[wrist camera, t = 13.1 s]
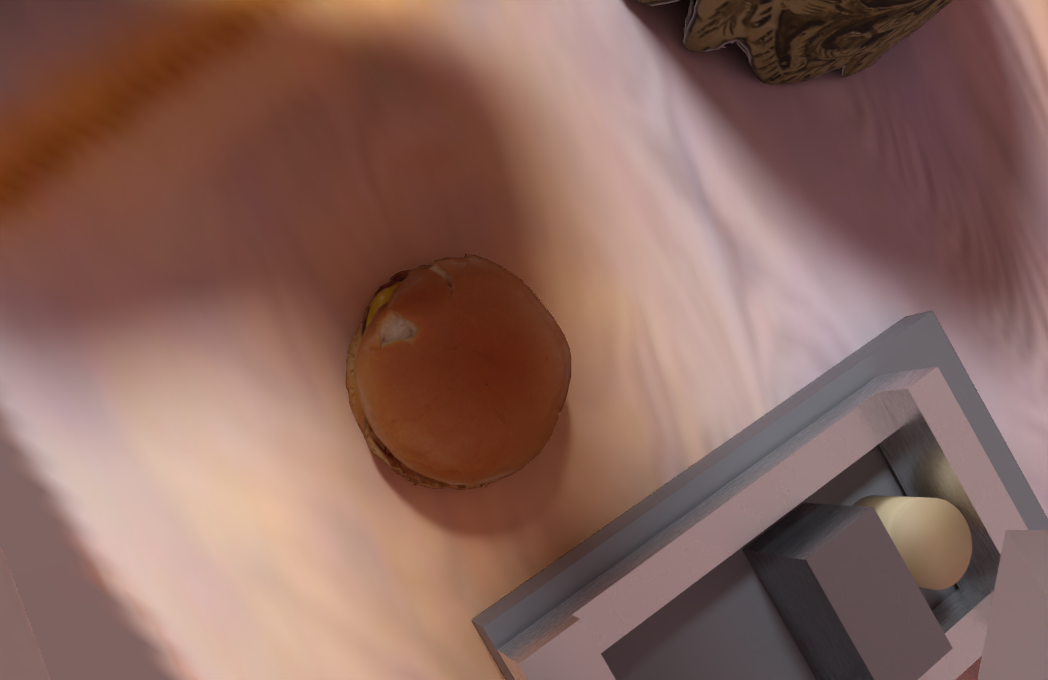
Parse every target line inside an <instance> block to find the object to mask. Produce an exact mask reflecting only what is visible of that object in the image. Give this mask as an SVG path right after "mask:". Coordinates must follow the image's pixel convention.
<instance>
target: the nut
mask: <svg viewBox="0 0 1048 680" xmlns="http://www.w3.org/2000/svg"><path fill="white" fill-rule="evenodd" d="M852 506H863V507H874V509H875V510H876V512H877V514H878V516H879V518H880V519H881V521H882V523H883V525H884V526H885V528H886V530H887V532H888V534H889V535H890V537H891V539H892V541H893V543H894V544H895V546H896V548H897V550H898V551H899V553H900V555H901V557H902V559H903V560H904V562H905V564H906V566H907V567H908V569H909V571H910V573H911V575H912V576H913V578H914V580H915V582H916V583H917V585H918V587H922V588H927V589H933V590H940V589H945V588H948V587H950V586H952V585H954V584H955V583H956V582H958V581H959V580H960V579H961V577H962V576H963V575H964V573H965V572H966V570H967V568H968V565H969V562H970V559H971V554H972V539H971V533H970V529H969V527H968V524H967V522H966V520H965V518H964V516H963V515H962V513H961V512H960V511H959V510H958V509H957V508H956V507H955V506H954V505H952V504H951V503H949V502H948V501H946V500H943V499H939V498H925V497H902V496H879V495H871V496H866V497H863V498H861V499H859V500H858V501H856V502H855V503H854V504H853V505H852Z"/></svg>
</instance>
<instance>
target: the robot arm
mask: <svg viewBox="0 0 1048 680" xmlns="http://www.w3.org/2000/svg"><path fill="white" fill-rule="evenodd" d="M0 680H51V679H50V677H49V674H48V671H47V668H46V666H45V663H44V660H43V657H42V655H41V652H40V649H39V647H38V644H37V641H36V639H35V636H34V633H33V630H32V628H31V625H30V622H29V620H28V617H27V614H26V612H25V609H24V606H23V604H22V601H21V598H20V596H19V593H18V590H17V587H16V585H15V582H14V579H13V577H12V574H11V571H10V568H9V566H8V563H7V560H6V558H5V555H4V552H3V549H2V547H1V544H0ZM977 680H1048V530H1005V536H1004V541H1003V546H1002V552H1001V557H1000V562H999V567H998V573H997V578H996V583H995V589H994V594H993V599H992V605H991V610H990V615H989V621H988V626H987V631H986V637H985V642H984V647H983V652H982V658H981V663H980V668H979V674H978V679H977Z"/></svg>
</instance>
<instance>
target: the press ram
mask: <svg viewBox="0 0 1048 680" xmlns="http://www.w3.org/2000/svg"><path fill="white" fill-rule="evenodd" d="M878 444H879V446H880V448H881V450H882V451H883V453H884V455H885V457H886V459H887V460H888V462H889V464H890V466H891V468H892V469H893V471H894V473H895V475H896V477H897V478H898V480H899V482H900V484H901V485H902V487H903V489H904V491H905V493H906V494H907V496H908V497H925V498H939V499H943V500H946V501H948V502H949V503H951V504H952V505H954V506H955V507H956V508H957V509H958V510H959V511H960V512H961V513H962V515H963V516H964V518H965V520H966V522H967V524H968V527H969V529H970V533H971V539H972V554H971V559H970V562H969V565H968V568H967V570H966V572H965V573H964V575H963V576H962V577H961V579H960V580H959V581H958V582H956V584H957V586H958V587H959V588H958V589H957V590H956V591H955V592H954V593H952V594H951V595H950V596H949V597H948V598H947V599H945V600H944V601H943V602H942V603H941V604H940V605H938V606H937V607H936V608H935V609H934V610H933V611H932V612H933V614H934V616H935V617H936V619H937V621H938V623H939V624H940V626H941V628H942V630H943V632H944V633H945V635H946V637H947V639H948V640H949V642H950V644H951V646H952V648H953V649H951V650H950V651H949V652H948V653H947V654H946V655H945V656H944V657H943V658H941V659H940V660H939V661H938V662H937V663H936V664H935V665H934V666H932V667H931V668H930V669H929V670H928V671H927V672H926V673H925V674H923V675H922V676H921V677H920V678H919V679H918V680H956V679H957V678H958V677H959V676H960V675H961V674H962V673H963V672H964V671H966V670H967V669H968V668H969V667H970V666H971V665H972V664H973V663H974V662H975V661H977V660H978V659H979V658H980V657H981V656H982V652H983V647H984V642H985V637H986V631H987V626H988V621H989V615H990V610H991V605H992V599H993V594H994V589H995V583H996V578H997V573H998V567H999V562H1000V557H1001V552H1002V546H1003V541H1004V536H1005V530H1028V528H1027V527H1026V525H1025V523H1024V521H1023V519H1022V518H1021V516H1020V514H1019V512H1018V510H1017V509H1016V507H1015V505H1014V503H1013V501H1012V500H1011V498H1010V496H1009V494H1008V492H1007V491H1006V489H1005V487H1004V485H1003V483H1002V481H1001V480H1000V478H999V476H998V474H997V472H996V471H995V469H994V467H993V465H992V463H991V462H990V460H989V458H988V456H987V454H986V453H985V451H984V449H983V447H982V445H981V444H980V442H979V440H978V438H977V436H976V435H975V433H974V431H973V429H972V427H971V426H970V424H969V422H968V420H967V418H966V417H965V415H964V413H963V411H962V409H961V408H960V406H959V404H958V402H957V400H956V399H955V397H954V395H953V393H952V391H951V389H950V388H949V386H948V384H947V382H946V380H945V379H944V377H943V375H942V373H941V371H940V370H939V368H938V367H931V368H924V369H917V370H910V371H903V372H895V373H888V374H881V375H878V376H877V377H875V378H874V379H873V380H871V381H870V382H868V383H867V384H866V385H864V386H863V387H861V388H860V389H859V390H857V391H856V392H854V393H853V394H852V395H850V396H849V397H848V398H846V399H845V400H843V401H842V402H841V403H839V404H838V405H836V406H835V407H834V408H832V409H831V410H829V411H828V412H827V413H825V414H824V415H822V416H821V417H820V418H818V419H817V420H816V421H814V422H813V423H811V424H810V425H809V426H807V427H806V428H804V429H803V430H802V431H800V432H799V433H797V434H796V435H795V436H793V437H792V438H790V439H789V440H788V441H786V442H785V443H784V444H782V445H781V446H779V447H778V448H777V449H775V450H774V451H772V452H771V453H770V454H768V455H767V456H765V457H764V458H763V459H761V460H760V461H758V462H757V463H756V464H754V465H753V466H752V467H750V468H749V469H747V470H746V471H745V472H743V473H742V474H740V475H739V476H738V477H736V478H735V479H733V480H732V481H731V482H729V483H728V484H726V485H725V486H724V487H722V488H721V489H720V490H718V491H717V492H715V493H714V494H713V495H711V496H710V497H708V498H707V499H706V500H704V501H703V502H701V503H700V504H699V505H697V506H696V507H694V508H693V509H692V510H690V511H689V512H688V513H686V514H685V515H683V516H682V517H681V518H679V519H678V520H676V521H675V522H674V523H672V524H671V525H669V526H668V527H667V528H665V529H664V530H662V531H661V532H660V533H658V534H657V535H656V536H654V537H653V538H651V539H650V540H649V541H647V542H646V543H644V544H643V545H642V546H640V547H639V548H637V549H636V550H635V551H633V552H632V553H630V554H629V555H628V556H626V557H625V558H623V559H622V560H621V561H619V562H618V563H617V564H615V565H614V566H612V567H611V568H610V569H608V570H607V571H605V572H604V573H603V574H601V575H600V576H598V577H597V578H596V579H594V580H593V581H591V582H590V583H589V584H587V585H586V586H585V587H583V588H582V589H580V590H579V591H578V592H576V593H575V594H573V595H572V596H571V597H569V598H568V599H566V600H565V601H564V602H562V603H561V604H559V605H558V606H557V607H555V608H554V609H553V610H551V611H550V612H548V613H547V614H546V615H544V616H543V617H541V618H540V619H539V620H537V621H536V622H534V623H533V624H532V625H530V626H529V627H527V628H526V629H525V630H523V631H522V632H521V633H519V634H518V635H516V636H515V637H514V638H512V639H511V640H509V641H508V642H507V643H505V644H504V645H502V646H501V647H500V648H498V649H497V651H498V652H499V654H500V656H501V657H502V659H503V661H504V662H505V664H506V666H507V668H508V669H509V671H510V673H511V674H512V676H513V678H514V680H616V679H615V677H614V676H613V674H612V672H611V671H610V669H609V667H608V665H607V664H606V662H605V660H604V658H603V657H602V655H601V653H602V652H603V651H605V650H606V649H607V648H609V647H610V646H611V645H613V644H614V643H615V642H617V641H618V640H619V639H621V638H622V637H623V636H625V635H626V634H627V633H629V632H630V631H631V630H633V629H634V628H635V627H637V626H638V625H639V624H641V623H642V622H643V621H645V620H646V619H647V618H649V617H650V616H651V615H653V614H654V613H655V612H657V611H658V610H659V609H660V608H662V607H663V606H664V605H666V604H667V603H668V602H670V601H671V600H672V599H674V598H675V597H676V596H678V595H679V594H680V593H682V592H683V591H684V590H686V589H687V588H688V587H690V586H691V585H692V584H694V583H695V582H696V581H698V580H699V579H700V578H702V577H703V576H704V575H706V574H707V573H708V572H710V571H711V570H712V569H714V568H715V567H716V566H718V565H719V564H720V563H721V562H723V561H724V560H725V559H727V558H728V557H729V556H731V555H732V554H733V553H735V552H736V551H737V550H739V549H740V548H741V547H743V546H744V545H745V544H747V543H748V542H749V541H751V540H752V539H753V538H755V537H756V536H757V535H759V534H760V533H761V532H763V531H764V530H765V529H767V528H768V527H769V526H771V525H772V524H773V523H775V522H776V521H777V520H779V519H780V518H781V517H782V516H784V515H785V514H786V513H788V512H789V511H790V510H792V509H793V508H794V507H796V506H797V505H798V504H800V503H801V502H802V501H804V500H805V499H806V498H808V497H809V496H810V495H812V494H813V493H814V492H816V491H817V490H818V489H820V488H821V487H822V486H824V485H825V484H826V483H828V482H829V481H830V480H832V479H833V478H834V477H836V476H837V475H838V474H840V473H841V472H842V471H843V470H845V469H846V468H847V467H849V466H850V465H851V464H853V463H854V462H855V461H857V460H858V459H859V458H861V457H862V456H863V455H865V454H866V453H867V452H869V451H870V450H871V449H873V448H874V447H875V446H877V445H878Z"/></svg>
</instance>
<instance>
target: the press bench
mask: <svg viewBox="0 0 1048 680" xmlns="http://www.w3.org/2000/svg"><path fill="white" fill-rule="evenodd" d="M931 367H938V368H939V370H940V371H941V373H942V375H943V377H944V379H945V380H946V382H947V384H948V386H949V388H950V389H951V391H952V393H953V395H954V397H955V399H956V400H957V402H958V404H959V406H960V408H961V409H962V411H963V413H964V415H965V417H966V418H967V420H968V422H969V424H970V426H971V427H972V429H973V431H974V433H975V435H976V436H977V438H978V440H979V442H980V444H981V445H982V447H983V449H984V451H985V453H986V454H987V456H988V458H989V460H990V462H991V463H992V465H993V467H994V469H995V471H996V472H997V474H998V476H999V478H1000V480H1001V481H1002V483H1003V485H1004V487H1005V489H1006V491H1007V492H1008V494H1009V496H1010V498H1011V500H1012V501H1013V503H1014V505H1015V507H1016V509H1017V510H1018V512H1019V514H1020V516H1021V518H1022V519H1023V521H1024V523H1025V525H1026V527H1027V528H1028V530H1048V518H1047V516H1046V515H1045V513H1044V511H1043V509H1042V507H1041V506H1040V504H1039V502H1038V500H1037V498H1036V497H1035V495H1034V493H1033V491H1032V489H1031V488H1030V486H1029V484H1028V482H1027V480H1026V478H1025V477H1024V475H1023V473H1022V471H1021V469H1020V468H1019V466H1018V464H1017V462H1016V460H1015V459H1014V457H1013V455H1012V453H1011V451H1010V450H1009V448H1008V446H1007V444H1006V442H1005V441H1004V439H1003V437H1002V435H1001V433H1000V431H999V430H998V428H997V426H996V424H995V422H994V421H993V419H992V417H991V415H990V413H989V412H988V410H987V408H986V406H985V404H984V403H983V401H982V399H981V397H980V395H979V393H978V392H977V390H976V388H975V386H974V384H973V383H972V381H971V379H970V377H969V375H968V374H967V372H966V370H965V368H964V366H963V365H962V363H961V361H960V359H959V357H958V356H957V354H956V352H955V350H954V348H953V346H952V345H951V343H950V341H949V339H948V337H947V336H946V334H945V332H944V330H943V328H942V327H941V325H940V323H939V321H938V319H937V318H936V316H935V314H934V312H933V311H929V312H924V313H920V314H915V315H911V316H906V317H904V318H903V319H902V320H900V321H899V322H897V323H896V324H894V325H893V326H892V327H890V328H889V329H887V330H886V331H884V332H883V333H882V334H880V335H879V336H877V337H876V338H874V339H873V340H871V341H870V342H869V343H867V344H866V345H864V346H863V347H861V348H860V349H859V350H857V351H856V352H854V353H853V354H851V355H850V356H849V357H847V358H846V359H844V360H843V361H841V362H840V363H839V364H837V365H836V366H834V367H833V368H831V369H830V370H829V371H827V372H826V373H824V374H823V375H821V376H820V377H818V378H817V379H816V380H814V381H813V382H811V383H810V384H808V385H807V386H806V387H804V388H803V389H801V390H800V391H798V392H797V393H796V394H794V395H793V396H791V397H790V398H788V399H787V400H786V401H784V402H783V403H781V404H780V405H778V406H777V407H776V408H774V409H773V410H771V411H770V412H768V413H767V414H765V415H764V416H763V417H761V418H760V419H758V420H757V421H755V422H754V423H753V424H751V425H750V426H748V427H747V428H745V429H744V430H743V431H741V432H740V433H738V434H737V435H735V436H734V437H733V438H731V439H730V440H728V441H727V442H725V443H724V444H723V445H721V446H720V447H718V448H717V449H715V450H714V451H713V452H711V453H710V454H708V455H707V456H705V457H704V458H702V459H701V460H700V461H698V462H697V463H695V464H694V465H692V466H691V467H690V468H688V469H687V470H685V471H684V472H682V473H681V474H680V475H678V476H677V477H675V478H674V479H672V480H671V481H670V482H668V483H667V484H665V485H664V486H662V487H661V488H660V489H658V490H657V491H655V492H654V493H652V494H651V495H649V496H648V497H647V498H645V499H644V500H642V501H641V502H639V503H638V504H637V505H635V506H634V507H632V508H631V509H629V510H628V511H627V512H625V513H624V514H622V515H621V516H619V517H618V518H617V519H615V520H614V521H612V522H611V523H609V524H608V525H607V526H605V527H604V528H602V529H601V530H599V531H598V532H596V533H595V534H594V535H592V536H591V537H589V538H588V539H586V540H585V541H584V542H582V543H581V544H579V545H578V546H576V547H575V548H574V549H572V550H571V551H569V552H568V553H566V554H565V555H564V556H562V557H561V558H559V559H558V560H556V561H555V562H554V563H552V564H551V565H549V566H548V567H546V568H545V569H544V570H542V571H541V572H539V573H538V574H536V575H535V576H533V577H532V578H531V579H529V580H528V581H526V582H525V583H523V584H522V585H521V586H519V587H518V588H516V589H515V590H513V591H512V592H511V593H509V594H508V595H506V596H505V597H503V598H502V599H501V600H499V601H498V602H496V603H495V604H493V605H492V606H491V607H489V608H488V609H486V610H485V611H483V612H482V613H480V614H479V615H478V616H476V617H475V618H473V619H472V622H473V624H474V625H475V627H476V629H477V631H478V632H479V634H480V636H481V637H482V639H483V641H484V643H485V644H486V646H487V648H488V649H489V651H490V653H491V655H492V656H493V658H494V660H495V661H496V663H497V665H498V667H499V668H500V670H501V672H502V673H503V675H504V677H505V679H506V680H514V678H513V676H512V674H511V673H510V671H509V669H508V668H507V666H506V664H505V662H504V661H503V659H502V657H501V656H500V654H499V652H498V651H497V649H498V648H500V647H501V646H502V645H504V644H505V643H507V642H508V641H509V640H511V639H512V638H514V637H515V636H516V635H518V634H519V633H521V632H522V631H523V630H525V629H526V628H527V627H529V626H530V625H532V624H533V623H534V622H536V621H537V620H539V619H540V618H541V617H543V616H544V615H546V614H547V613H548V612H550V611H551V610H553V609H554V608H555V607H557V606H558V605H559V604H561V603H562V602H564V601H565V600H566V599H568V598H569V597H571V596H572V595H573V594H575V593H576V592H578V591H579V590H580V589H582V588H583V587H585V586H586V585H587V584H589V583H590V582H591V581H593V580H594V579H596V578H597V577H598V576H600V575H601V574H603V573H604V572H605V571H607V570H608V569H610V568H611V567H612V566H614V565H615V564H617V563H618V562H619V561H621V560H622V559H623V558H625V557H626V556H628V555H629V554H630V553H632V552H633V551H635V550H636V549H637V548H639V547H640V546H642V545H643V544H644V543H646V542H647V541H649V540H650V539H651V538H653V537H654V536H656V535H657V534H658V533H660V532H661V531H662V530H664V529H665V528H667V527H668V526H669V525H671V524H672V523H674V522H675V521H676V520H678V519H679V518H681V517H682V516H683V515H685V514H686V513H688V512H689V511H690V510H692V509H693V508H694V507H696V506H697V505H699V504H700V503H701V502H703V501H704V500H706V499H707V498H708V497H710V496H711V495H713V494H714V493H715V492H717V491H718V490H720V489H721V488H722V487H724V486H725V485H726V484H728V483H729V482H731V481H732V480H733V479H735V478H736V477H738V476H739V475H740V474H742V473H743V472H745V471H746V470H747V469H749V468H750V467H752V466H753V465H754V464H756V463H757V462H758V461H760V460H761V459H763V458H764V457H765V456H767V455H768V454H770V453H771V452H772V451H774V450H775V449H777V448H778V447H779V446H781V445H782V444H784V443H785V442H786V441H788V440H789V439H790V438H792V437H793V436H795V435H796V434H797V433H799V432H800V431H802V430H803V429H804V428H806V427H807V426H809V425H810V424H811V423H813V422H814V421H816V420H817V419H818V418H820V417H821V416H822V415H824V414H825V413H827V412H828V411H829V410H831V409H832V408H834V407H835V406H836V405H838V404H839V403H841V402H842V401H843V400H845V399H846V398H848V397H849V396H850V395H852V394H853V393H854V392H856V391H857V390H859V389H860V388H861V387H863V386H864V385H866V384H867V383H868V382H870V381H871V380H873V379H874V378H875V377H877V376H878V375H881V374H888V373H895V372H903V371H910V370H917V369H924V368H931ZM871 495H879V496H902V497H908V496H907V494H906V493H905V491H904V489H903V487H902V485H901V484H900V482H899V480H898V478H897V477H896V475H895V473H894V471H893V469H892V468H891V466H890V464H889V462H888V460H887V459H886V457H885V455H884V453H883V451H882V450H881V448H880V446H879V444H878V445H877V446H875V447H874V448H873V449H871V450H870V451H869V452H867V453H866V454H865V455H863V456H862V457H861V458H859V459H858V460H857V461H855V462H854V463H853V464H851V465H850V466H849V467H847V468H846V469H845V470H843V471H842V472H841V473H840V474H838V475H837V476H836V477H834V478H833V479H832V480H830V481H829V482H828V483H826V484H825V485H824V486H822V487H821V488H820V489H818V490H817V491H816V492H814V493H813V494H812V495H810V496H809V497H808V498H806V499H805V500H804V501H802V502H801V503H800V504H798V505H797V506H796V507H794V508H793V509H792V510H790V511H789V512H788V513H786V514H785V515H784V516H782V517H781V518H780V519H779V520H777V521H776V522H775V523H773V524H772V525H771V526H769V527H768V528H767V529H765V530H764V531H763V532H761V533H760V534H759V535H757V536H756V537H755V538H753V539H752V540H751V541H749V542H748V543H747V544H745V545H744V546H743V547H741V548H740V549H739V550H737V551H736V552H735V553H733V554H732V555H731V556H729V557H728V558H727V559H725V560H724V561H723V562H721V563H720V564H719V565H718V566H716V567H715V568H714V569H712V570H711V571H710V572H708V573H707V574H706V575H704V576H703V577H702V578H700V579H699V580H698V581H696V582H695V583H694V584H692V585H691V586H690V587H688V588H687V589H686V590H684V591H683V592H682V593H680V594H679V595H678V596H676V597H675V598H674V599H672V600H671V601H670V602H668V603H667V604H666V605H664V606H663V607H662V608H660V609H659V610H658V611H657V612H655V613H654V614H653V615H651V616H650V617H649V618H647V619H646V620H645V621H643V622H642V623H641V624H639V625H638V626H637V627H635V628H634V629H633V630H631V631H630V632H629V633H627V634H626V635H625V636H623V637H622V638H621V639H619V640H618V641H617V642H615V643H614V644H613V645H611V646H610V647H609V648H607V649H606V650H605V651H603V652H602V653H601V655H602V657H603V658H604V660H605V662H606V664H607V665H608V667H609V669H610V671H611V672H612V674H613V676H614V677H615V679H616V680H817V679H815V677H814V675H813V673H812V672H811V670H810V668H809V666H808V665H807V663H806V661H805V659H804V657H803V656H802V654H801V652H800V650H799V649H798V647H797V645H796V643H795V642H794V640H793V638H792V636H791V635H790V633H789V631H788V629H787V628H786V626H785V624H784V622H783V621H782V619H781V617H780V615H779V614H778V612H777V610H776V608H775V607H774V605H773V603H772V601H771V600H770V598H769V596H768V594H767V592H766V591H765V589H764V587H763V585H762V584H761V582H760V580H759V578H758V577H757V575H756V573H755V571H754V570H753V568H752V566H751V564H750V563H749V561H748V559H747V557H746V556H745V554H744V552H743V550H742V549H744V548H745V547H746V546H748V545H749V544H750V543H752V542H753V541H754V540H756V539H757V538H758V537H760V536H761V535H762V534H763V533H765V532H766V531H767V530H769V529H770V528H771V527H773V526H774V525H775V524H777V523H778V522H779V521H781V520H782V519H783V518H785V517H786V516H787V515H789V514H790V513H791V512H793V511H794V510H795V509H797V508H798V507H799V506H801V505H802V504H803V503H815V504H831V505H847V506H852V505H853V504H854V503H855V502H856V501H858V500H859V499H861V498H863V497H866V496H871ZM958 588H959V587H958V586H957V584H956V583H955V584H954V585H952V586H950V587H948V588H945V589H940V590H933V589H927V588H922V587H919V589H920V591H921V592H922V594H923V596H924V598H925V600H926V601H927V603H928V605H929V607H930V608H931V610H932V611H933V610H934V609H935V608H936V607H937V606H938V605H940V604H941V603H942V602H943V601H944V600H945V599H947V598H948V597H949V596H950V595H951V594H952V593H954V592H955V591H956V590H957V589H958Z"/></svg>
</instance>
